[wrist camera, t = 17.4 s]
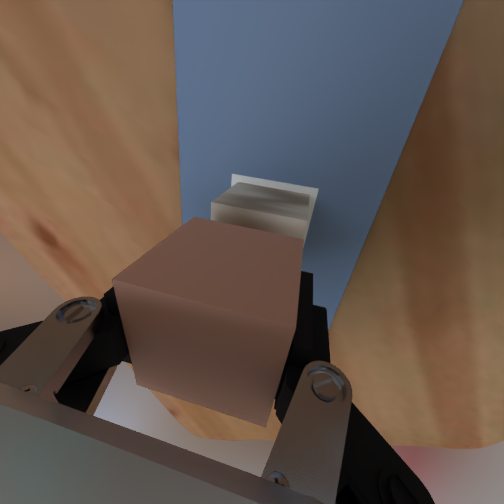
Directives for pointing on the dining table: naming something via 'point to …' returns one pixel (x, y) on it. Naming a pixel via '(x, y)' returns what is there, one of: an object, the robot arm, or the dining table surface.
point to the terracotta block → (213, 315)
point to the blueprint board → (304, 109)
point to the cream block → (263, 209)
